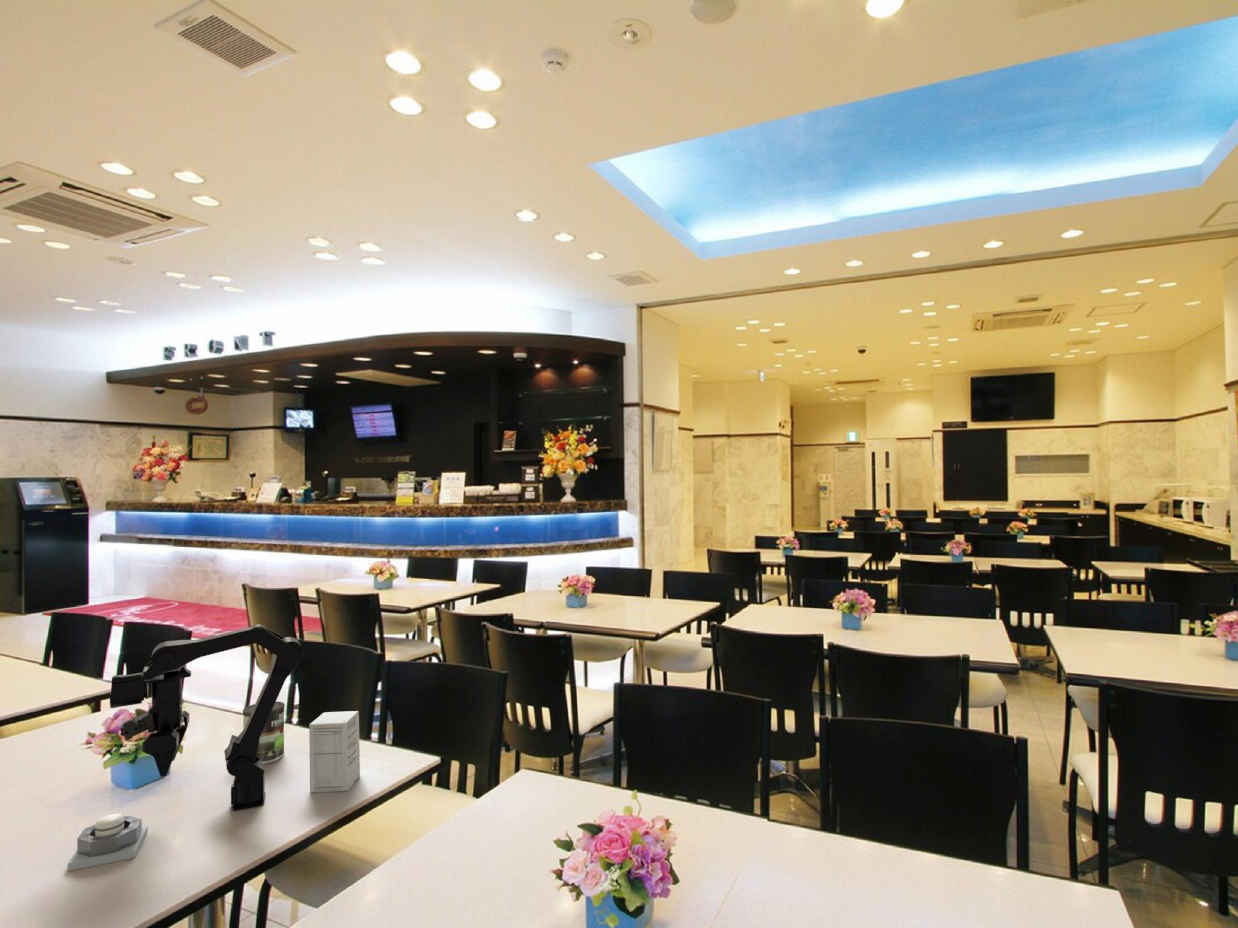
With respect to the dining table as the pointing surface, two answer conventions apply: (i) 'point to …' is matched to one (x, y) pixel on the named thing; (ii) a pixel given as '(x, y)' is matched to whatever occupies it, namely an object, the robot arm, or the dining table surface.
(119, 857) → the piston base
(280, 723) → the coffee can
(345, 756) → the supplement box
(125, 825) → the steel ring
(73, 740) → the dining table surface
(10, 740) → the dining table surface
